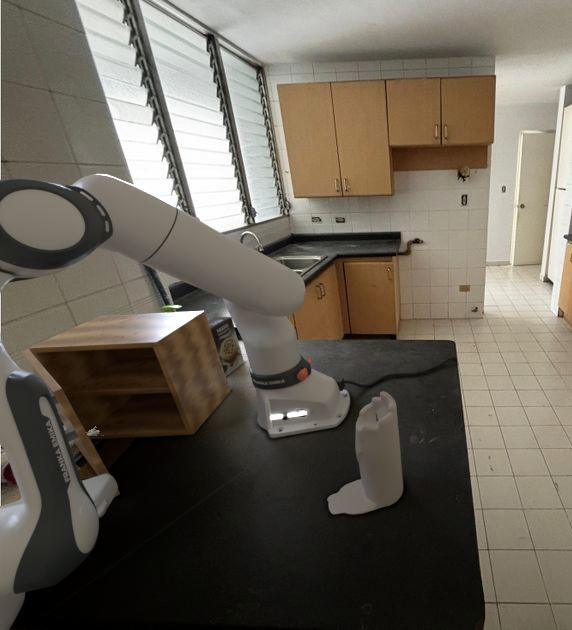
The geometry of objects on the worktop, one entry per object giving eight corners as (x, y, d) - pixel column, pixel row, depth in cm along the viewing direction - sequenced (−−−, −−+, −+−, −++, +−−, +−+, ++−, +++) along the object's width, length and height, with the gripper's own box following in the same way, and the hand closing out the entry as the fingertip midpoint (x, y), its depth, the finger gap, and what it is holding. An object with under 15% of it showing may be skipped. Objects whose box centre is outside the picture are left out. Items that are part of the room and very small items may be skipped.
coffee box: (225, 378, 100) (209, 329, 94) (206, 376, 101) (190, 328, 95) (245, 362, 108) (232, 316, 102) (228, 361, 109) (214, 315, 103)
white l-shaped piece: (326, 489, 63) (307, 402, 55) (397, 469, 66) (390, 384, 58) (328, 525, 56) (308, 432, 48) (407, 499, 60) (400, 409, 52)
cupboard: (193, 434, 78) (156, 342, 68) (80, 439, 78) (28, 348, 68) (230, 391, 94) (204, 310, 84) (136, 395, 94) (100, 315, 84)
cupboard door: (72, 522, 58) (-2, 412, 49) (38, 460, 72) (-24, 364, 63) (120, 493, 64) (61, 388, 54) (80, 440, 78) (28, 349, 68)
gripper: (91, 506, 50) (120, 445, 62) (-116, 576, 42) (-39, 491, 54) (109, 534, 52) (133, 470, 64) (-84, 605, 45) (-17, 518, 56)
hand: (54, 480), depth 59 cm, fingers closed
